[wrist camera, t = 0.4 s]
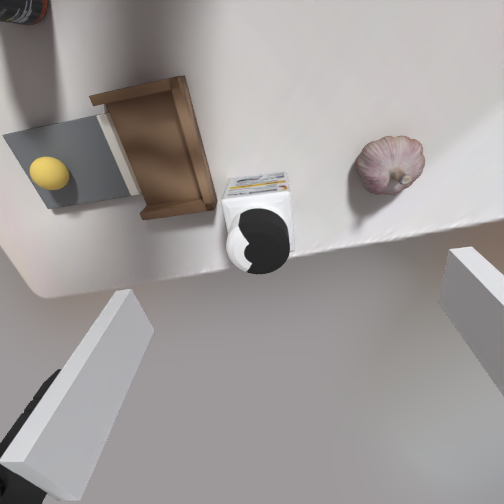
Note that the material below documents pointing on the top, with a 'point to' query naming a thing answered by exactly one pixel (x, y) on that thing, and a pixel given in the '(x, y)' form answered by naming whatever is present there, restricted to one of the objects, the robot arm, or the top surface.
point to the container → (258, 221)
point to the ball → (49, 173)
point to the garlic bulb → (390, 164)
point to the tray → (162, 146)
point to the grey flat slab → (78, 160)
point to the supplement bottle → (23, 11)
